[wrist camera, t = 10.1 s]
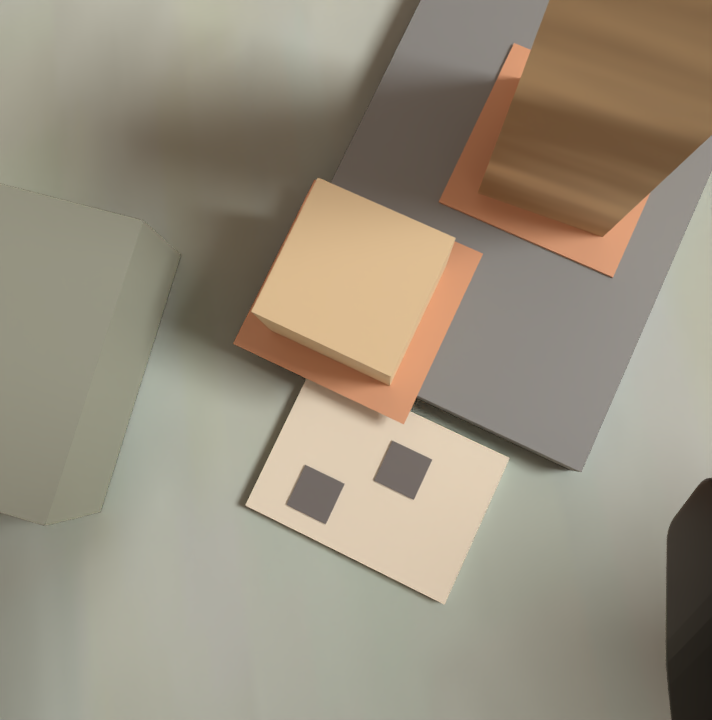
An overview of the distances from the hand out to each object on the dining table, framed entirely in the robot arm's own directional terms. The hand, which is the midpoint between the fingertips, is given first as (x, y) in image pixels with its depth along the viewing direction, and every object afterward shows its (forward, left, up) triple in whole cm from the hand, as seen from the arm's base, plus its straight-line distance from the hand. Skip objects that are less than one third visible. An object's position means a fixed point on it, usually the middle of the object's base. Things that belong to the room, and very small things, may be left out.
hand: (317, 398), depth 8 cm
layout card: (-1, -1, -14) cm, 14 cm away
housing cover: (-2, +11, -14) cm, 18 cm away
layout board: (+9, -1, -14) cm, 16 cm away
